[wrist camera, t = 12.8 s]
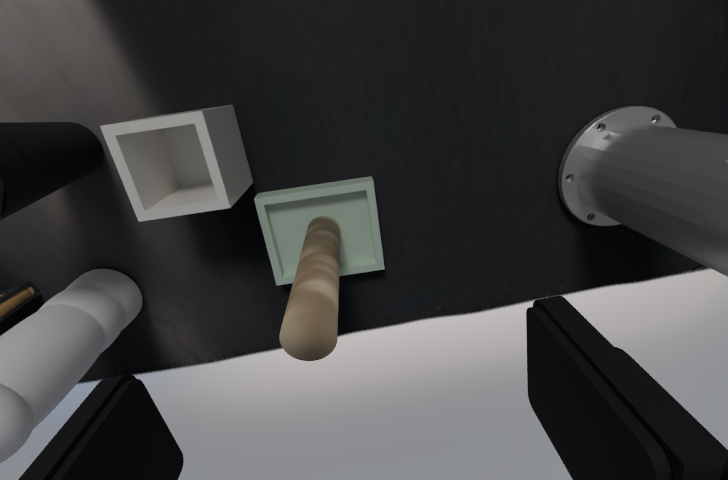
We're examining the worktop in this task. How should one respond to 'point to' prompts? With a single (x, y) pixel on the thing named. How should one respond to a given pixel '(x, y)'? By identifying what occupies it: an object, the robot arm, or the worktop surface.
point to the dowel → (314, 294)
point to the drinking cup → (42, 160)
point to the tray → (303, 204)
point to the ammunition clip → (16, 298)
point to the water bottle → (59, 349)
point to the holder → (180, 162)
